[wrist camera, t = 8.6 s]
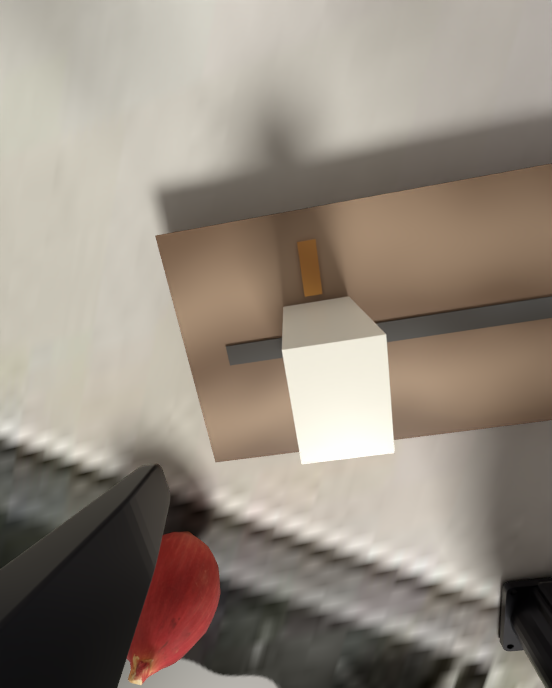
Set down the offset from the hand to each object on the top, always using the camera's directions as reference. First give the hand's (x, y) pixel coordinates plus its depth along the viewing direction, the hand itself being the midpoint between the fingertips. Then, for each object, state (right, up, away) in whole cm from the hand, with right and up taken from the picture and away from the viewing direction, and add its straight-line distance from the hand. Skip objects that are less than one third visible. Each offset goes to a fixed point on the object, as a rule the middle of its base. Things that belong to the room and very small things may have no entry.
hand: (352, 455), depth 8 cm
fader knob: (0, +3, +8) cm, 9 cm away
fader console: (+6, +4, +10) cm, 12 cm away
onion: (-8, -10, +15) cm, 20 cm away
